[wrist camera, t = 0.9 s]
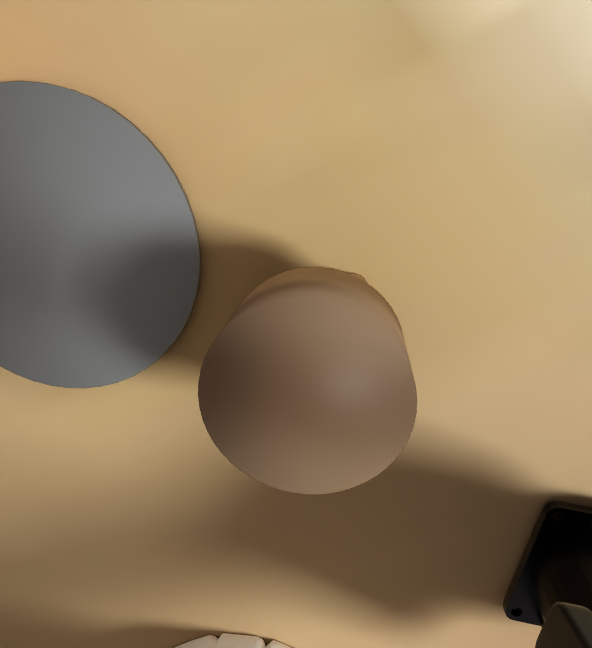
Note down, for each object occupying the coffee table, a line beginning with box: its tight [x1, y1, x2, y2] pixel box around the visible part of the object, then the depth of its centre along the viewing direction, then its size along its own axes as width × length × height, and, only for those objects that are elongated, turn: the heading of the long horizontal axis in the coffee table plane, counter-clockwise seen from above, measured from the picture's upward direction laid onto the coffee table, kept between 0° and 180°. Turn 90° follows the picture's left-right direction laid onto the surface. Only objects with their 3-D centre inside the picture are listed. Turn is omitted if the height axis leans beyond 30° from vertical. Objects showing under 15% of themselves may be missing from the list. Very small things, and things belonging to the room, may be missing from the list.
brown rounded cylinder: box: [198, 267, 417, 494], centre depth 17 cm, size 6×6×6 cm
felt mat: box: [0, 81, 201, 388], centre depth 20 cm, size 12×12×1 cm
